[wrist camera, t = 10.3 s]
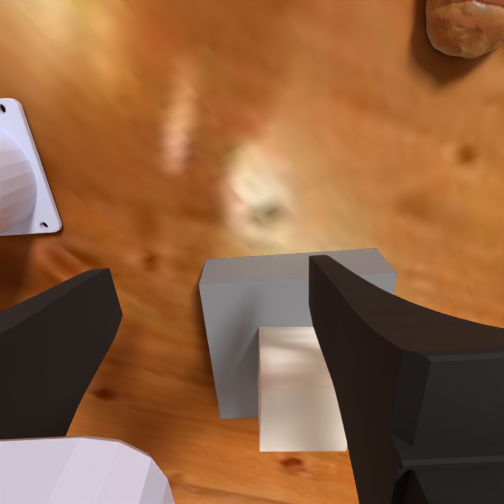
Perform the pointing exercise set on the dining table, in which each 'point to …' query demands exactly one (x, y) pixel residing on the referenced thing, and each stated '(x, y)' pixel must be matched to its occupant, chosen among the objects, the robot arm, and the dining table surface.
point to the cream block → (296, 393)
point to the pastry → (465, 26)
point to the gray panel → (263, 312)
